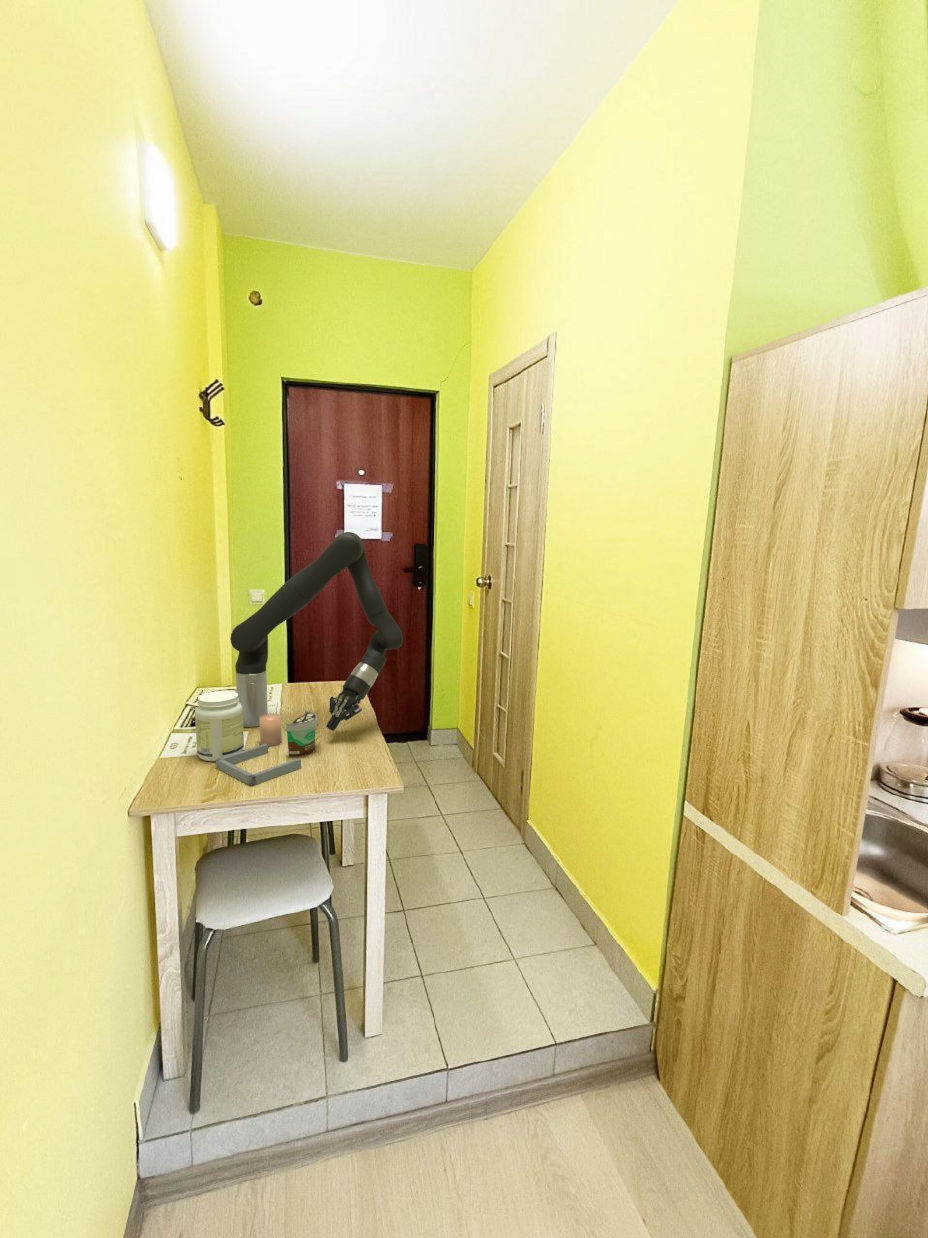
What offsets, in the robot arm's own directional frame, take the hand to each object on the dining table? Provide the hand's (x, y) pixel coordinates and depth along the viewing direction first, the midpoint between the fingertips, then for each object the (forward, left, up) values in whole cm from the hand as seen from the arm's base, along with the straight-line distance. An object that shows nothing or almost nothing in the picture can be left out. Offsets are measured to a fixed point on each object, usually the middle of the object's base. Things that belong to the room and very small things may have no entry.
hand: (329, 729), depth 173 cm
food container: (0, -8, -5) cm, 9 cm away
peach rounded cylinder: (-13, -11, -4) cm, 18 cm away
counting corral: (0, -24, -4) cm, 24 cm away
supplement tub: (-16, -25, -5) cm, 30 cm away
